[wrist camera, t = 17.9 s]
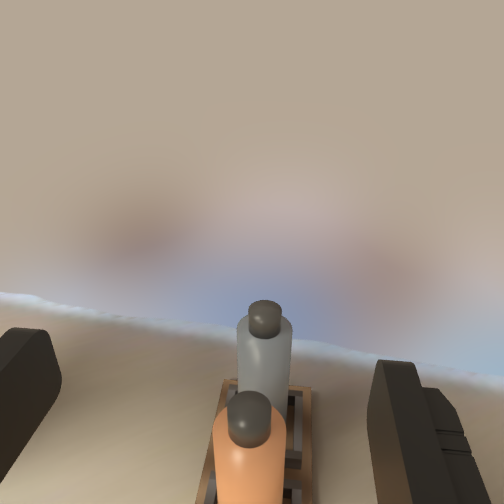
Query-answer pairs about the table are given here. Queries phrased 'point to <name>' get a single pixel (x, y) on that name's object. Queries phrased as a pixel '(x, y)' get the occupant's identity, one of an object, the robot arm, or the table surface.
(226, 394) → the wooden bottle rack
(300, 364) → the table surface
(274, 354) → the grey bottle
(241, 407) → the orange bottle
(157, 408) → the table surface
